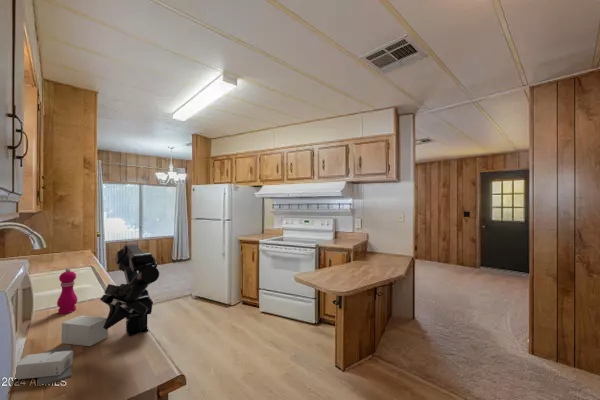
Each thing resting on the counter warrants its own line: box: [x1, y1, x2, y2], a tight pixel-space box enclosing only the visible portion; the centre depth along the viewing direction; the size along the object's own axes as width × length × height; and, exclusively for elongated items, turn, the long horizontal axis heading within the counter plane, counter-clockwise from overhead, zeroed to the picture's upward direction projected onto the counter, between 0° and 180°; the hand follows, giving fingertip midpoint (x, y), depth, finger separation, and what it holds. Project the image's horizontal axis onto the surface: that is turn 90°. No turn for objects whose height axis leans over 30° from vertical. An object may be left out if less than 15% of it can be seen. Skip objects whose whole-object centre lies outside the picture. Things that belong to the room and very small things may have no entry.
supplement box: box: [60, 315, 109, 347], centre depth 99 cm, size 7×7×13 cm
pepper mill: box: [56, 267, 78, 315], centre depth 126 cm, size 7×7×20 cm
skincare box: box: [15, 350, 74, 380], centre depth 80 cm, size 6×4×12 cm
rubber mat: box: [37, 344, 72, 387], centre depth 84 cm, size 7×22×1 cm, turn 41°
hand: (104, 328), depth 89 cm, fingers closed
